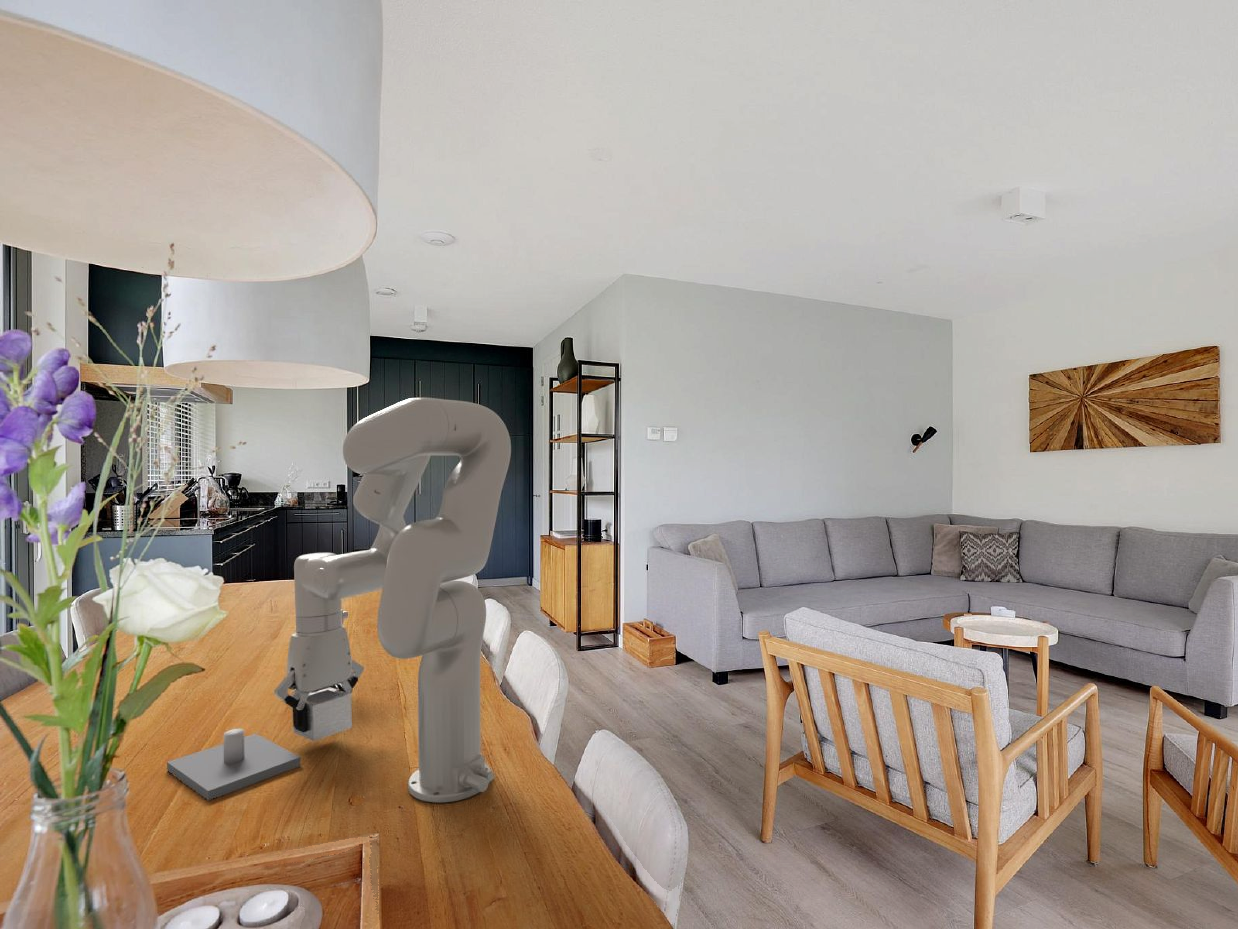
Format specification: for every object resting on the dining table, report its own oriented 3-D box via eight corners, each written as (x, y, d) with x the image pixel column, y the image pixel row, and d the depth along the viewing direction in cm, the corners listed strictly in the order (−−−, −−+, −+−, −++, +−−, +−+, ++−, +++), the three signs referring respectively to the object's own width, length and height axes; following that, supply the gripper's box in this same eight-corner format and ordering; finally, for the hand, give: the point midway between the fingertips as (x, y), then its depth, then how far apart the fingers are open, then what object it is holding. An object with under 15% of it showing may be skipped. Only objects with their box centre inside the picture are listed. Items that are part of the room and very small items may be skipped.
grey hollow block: (352, 727, 118) (350, 693, 118) (314, 741, 112) (312, 706, 112) (317, 714, 125) (316, 682, 125) (279, 726, 120) (278, 693, 120)
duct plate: (300, 766, 110) (300, 730, 110) (208, 801, 99) (207, 761, 99) (255, 741, 120) (255, 708, 120) (167, 771, 108) (166, 734, 108)
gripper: (352, 611, 127) (355, 704, 127) (258, 631, 113) (262, 735, 113) (375, 615, 122) (378, 711, 122) (280, 636, 108) (283, 745, 108)
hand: (322, 722), depth 117 cm, fingers closed on grey hollow block, 7 cm apart
